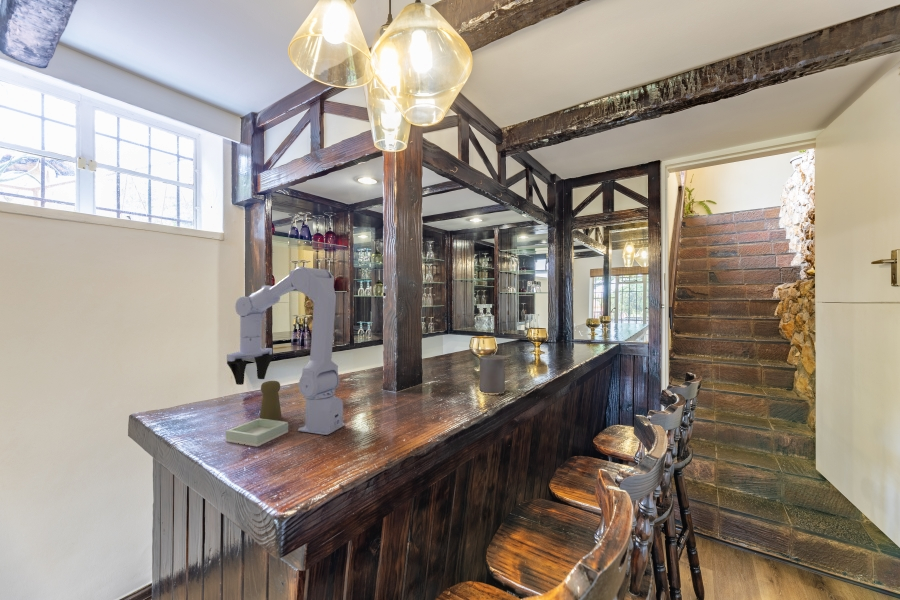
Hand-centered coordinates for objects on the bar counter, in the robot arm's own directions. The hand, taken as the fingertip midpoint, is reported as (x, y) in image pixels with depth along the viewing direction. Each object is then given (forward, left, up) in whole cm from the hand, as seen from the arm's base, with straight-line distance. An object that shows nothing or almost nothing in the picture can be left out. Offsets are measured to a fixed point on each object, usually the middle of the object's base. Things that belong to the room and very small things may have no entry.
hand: (250, 381), depth 108 cm
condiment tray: (-16, +12, -10) cm, 22 cm away
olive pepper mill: (-8, 0, -11) cm, 13 cm away
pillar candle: (-64, -51, -11) cm, 82 cm away
